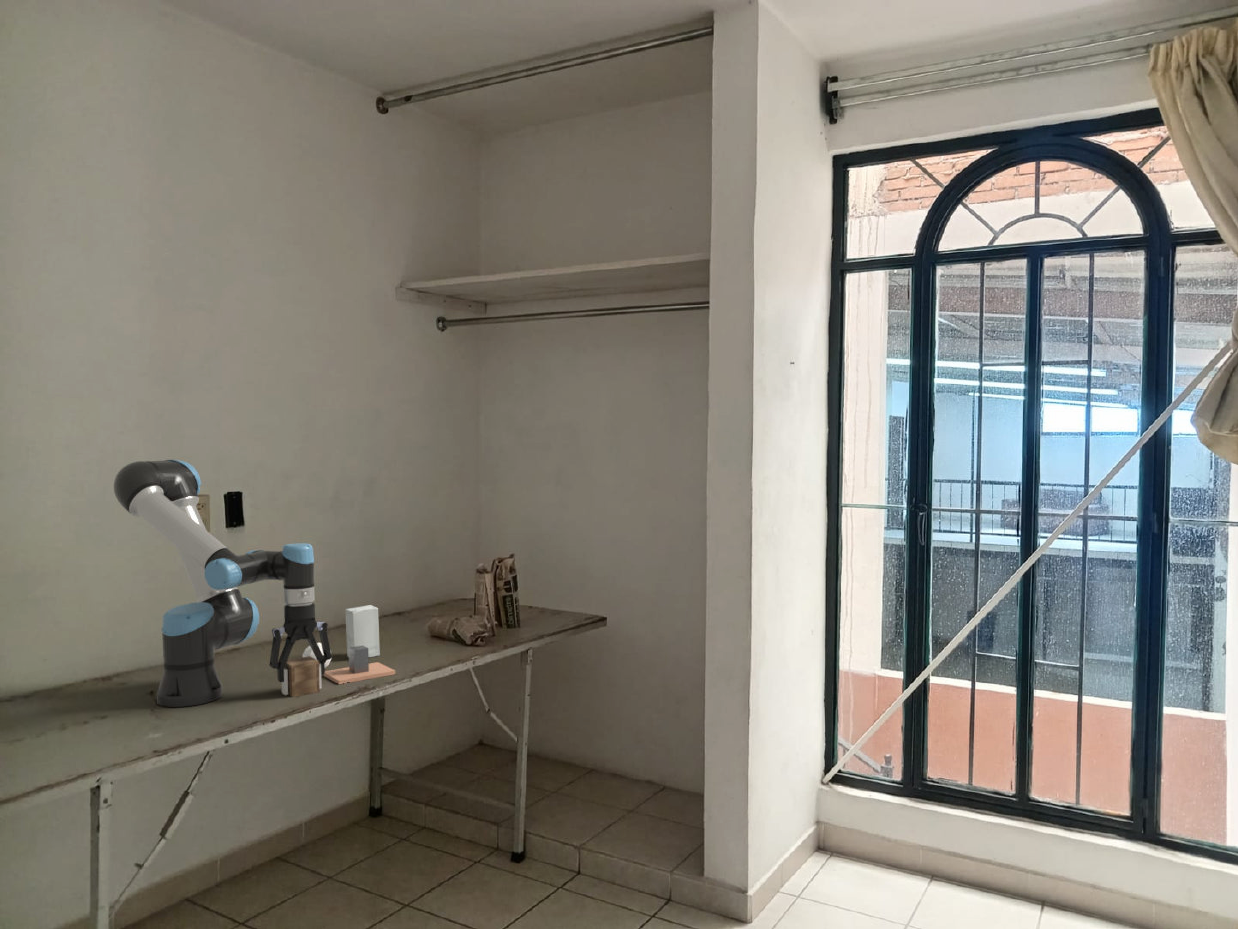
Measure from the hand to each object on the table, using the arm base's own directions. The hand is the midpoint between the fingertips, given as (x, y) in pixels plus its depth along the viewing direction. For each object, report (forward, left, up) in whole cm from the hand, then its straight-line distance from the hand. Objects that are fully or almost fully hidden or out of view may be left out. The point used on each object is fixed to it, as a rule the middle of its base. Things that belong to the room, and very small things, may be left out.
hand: (301, 690), depth 235 cm
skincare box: (+27, +25, 0) cm, 37 cm away
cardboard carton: (0, 0, 0) cm, 0 cm away
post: (+18, +6, 0) cm, 19 cm away
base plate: (+18, +6, 0) cm, 19 cm away
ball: (+11, +19, 0) cm, 22 cm away
